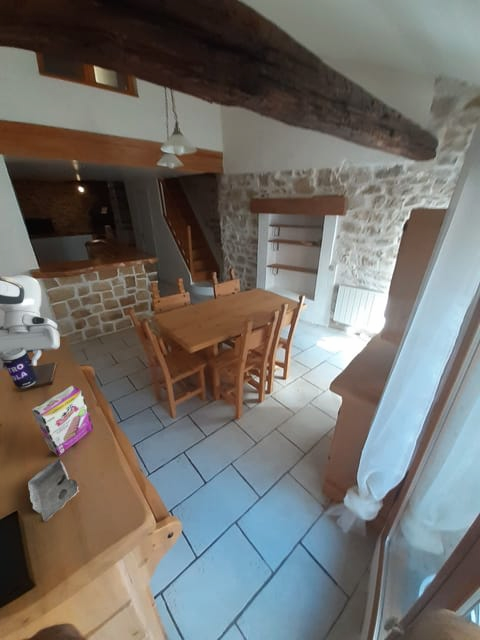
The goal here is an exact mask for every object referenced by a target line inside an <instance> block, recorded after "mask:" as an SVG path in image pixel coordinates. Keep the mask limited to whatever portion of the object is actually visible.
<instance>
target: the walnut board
mask: <svg viewBox="0 0 480 640" xmlns="http://www.w3.org/2000/svg"><path fill="white" fill-rule="evenodd" d="M33 367H34V370H35V372H36V374H37V377H38V378H37V380H36V382H35V383H34V384H32V385H31V386H28V387H24V388H21V387H19V391H20V392H22V393H23V392H26V391H30V390H35V389H39V388H43V387H48V386H52V385H53V384H54V380H55V376H56V371H57V367H58V363H57V361H54V362H49V363H44V364H41V365H36V366H33Z"/></svg>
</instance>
